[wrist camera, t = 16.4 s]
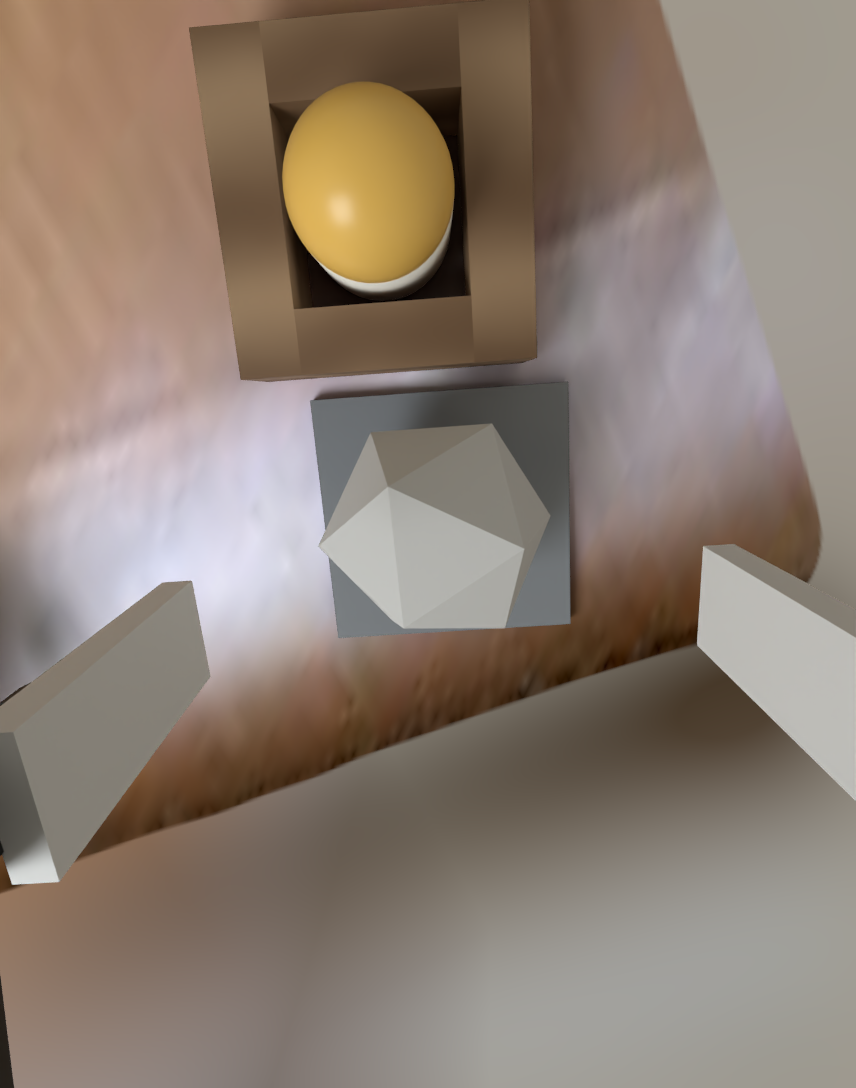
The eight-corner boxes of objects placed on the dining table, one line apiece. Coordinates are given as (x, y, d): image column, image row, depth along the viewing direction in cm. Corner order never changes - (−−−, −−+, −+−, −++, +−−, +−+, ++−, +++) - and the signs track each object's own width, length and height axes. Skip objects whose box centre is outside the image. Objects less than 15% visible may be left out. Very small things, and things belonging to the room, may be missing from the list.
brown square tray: (228, 86, 24) (188, 27, 20) (513, 60, 24) (529, -4, 20) (268, 381, 27) (240, 379, 23) (522, 362, 27) (536, 357, 23)
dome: (302, 152, 24) (246, 48, 17) (446, 139, 24) (451, 29, 17) (319, 306, 25) (274, 271, 18) (455, 295, 25) (463, 256, 18)
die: (341, 417, 28) (245, 577, 21) (504, 342, 23) (440, 524, 16) (436, 533, 32) (380, 694, 26) (589, 493, 27) (565, 681, 21)
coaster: (312, 400, 27) (310, 400, 27) (565, 381, 27) (568, 381, 26) (340, 633, 30) (338, 637, 30) (567, 619, 30) (570, 623, 29)
